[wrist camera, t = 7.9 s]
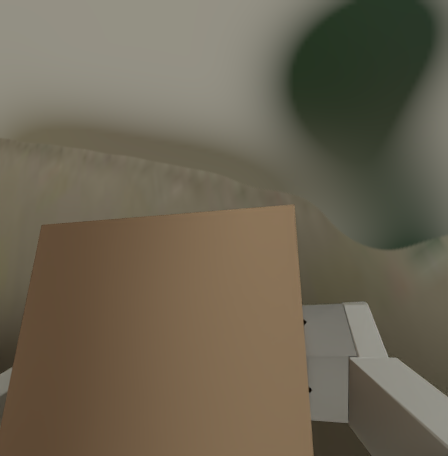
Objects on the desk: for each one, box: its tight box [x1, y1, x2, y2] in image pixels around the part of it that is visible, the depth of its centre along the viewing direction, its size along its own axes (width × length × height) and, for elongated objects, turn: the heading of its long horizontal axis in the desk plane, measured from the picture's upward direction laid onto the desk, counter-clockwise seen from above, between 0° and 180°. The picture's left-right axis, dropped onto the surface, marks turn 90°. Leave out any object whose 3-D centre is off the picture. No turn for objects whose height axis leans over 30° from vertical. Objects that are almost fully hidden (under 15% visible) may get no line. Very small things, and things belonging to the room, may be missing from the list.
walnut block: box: [0, 205, 314, 456], centre depth 9 cm, size 4×4×10 cm
